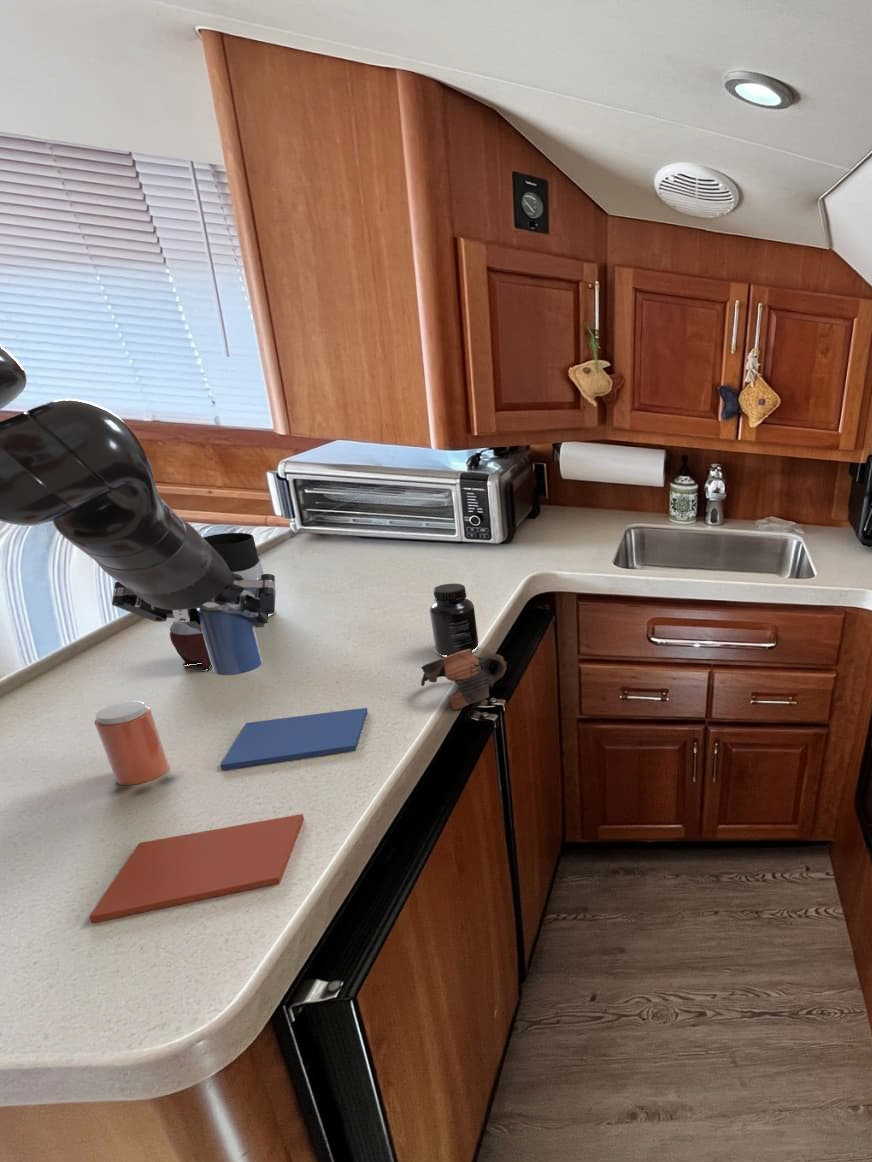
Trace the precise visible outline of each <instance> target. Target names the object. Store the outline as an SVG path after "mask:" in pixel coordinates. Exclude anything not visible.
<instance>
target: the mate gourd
mask: <svg viewBox="0 0 872 1162" xmlns="http://www.w3.org/2000/svg"><path fill="white" fill-rule="evenodd" d="M169 637H170V642H171V643H172V645H173V647H174V648H175V651H176V653H177V654H178V656H180V657H181V659H182V660H183V663H182V666H183V665H187V664H188V665H189V664H197V663H202V664H203V665H202V668H201V670H206V669H209V667H210V665H211V661H210V658H209V654H208V651H207V647H206V644H205V640H204V637H203V633H202V632H200V631H199V630H198V629H194V628H191V627H190V626H188V625H187V624H186V623H184V622H177V621H175V620H174V621H173V622H172V624H171V625H170V627H169Z"/></svg>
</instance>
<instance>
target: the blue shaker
mask: <svg viewBox="0 0 872 1162" xmlns="http://www.w3.org/2000/svg"><path fill="white" fill-rule="evenodd" d="M196 612H197V615H198V619H199V622H200V626H201V630H202V633H203V637H204V640H205V644H206V647H207V651H208V654H209V658H210V661H211V665H212V666H211V669H212V672H213V673H214V674H216V675H219V676H234V675H235V676H236V675H241V674H245V673H250V672H251V671H254V670H256V669H258V668H259V667H261V666H262V665H263V663H264V661H263V657H262V654H261V653H262V652H261V649H260V645H259V640H258V637H257V634H256V630H255V626H254V625H253V624H252V623H250V622H249V621H248V620H247V619H246V618H245V616H243V615H241V614H238V613H236V614H228V613H226V612H224V611H221V610H219V609H216V608H209V607H203V608H196Z"/></svg>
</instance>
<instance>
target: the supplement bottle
mask: <svg viewBox="0 0 872 1162" xmlns="http://www.w3.org/2000/svg"><path fill="white" fill-rule="evenodd" d="M433 600H434V601H435V602H433V603H431V605H430V607H429V616H430V622H431V629H432V635H433V642H434V648H435V652H436V651H437V652H438V653H439V654H441V655H447V656H449V655H452V654H455V653H457V652H460V651H463V650H467V649H471V650H473V649H475V648H476V647H477V646H478V643H479V636H478V627H477V619H476V618H477V617H476V612H475V610H476V609H475V604H474V603H473V602H472V601H471V600H470V599H468V598H467V592H466V587H465V585H464V584H461V583H444V584H440V585H438V586H437V585H436V586H435V587H434V588H433ZM437 652H436V653H437Z"/></svg>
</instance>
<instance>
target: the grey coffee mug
mask: <svg viewBox="0 0 872 1162" xmlns="http://www.w3.org/2000/svg"><path fill="white" fill-rule="evenodd" d="M202 537H203V536H202ZM203 538H204V539H205V540H206V541H207V542H208V543H209V544H210V545H211V546H212V547H213V549H214V550H215V551H216V552H217V553H218V554H219V555H220V556H221V557H222V558H223V559H224V561H225V562H226V564H227V566H228V567H229V569H230V571H231V572H233V573H235V574H238V575H240V576H242V577H243V579H244V580H256V579H261V575H262V574H265V573H264V569H263V565H262V562H261V559H260V558H259V553H258V550H257V546H256V543H255V538H254V535H253V534H251V533H248V532H247V533H246V532H225V533H215V534H210V535H207V536H204V537H203ZM248 592H250V591H248Z"/></svg>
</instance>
